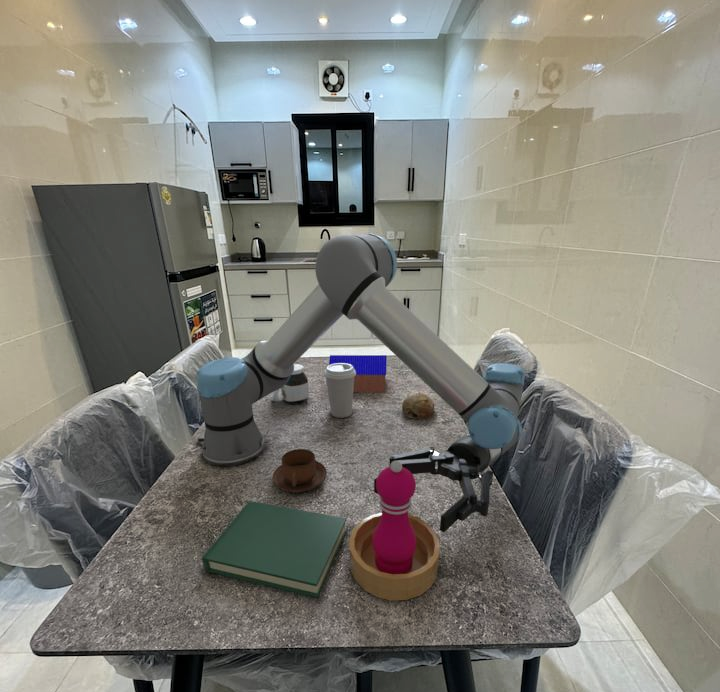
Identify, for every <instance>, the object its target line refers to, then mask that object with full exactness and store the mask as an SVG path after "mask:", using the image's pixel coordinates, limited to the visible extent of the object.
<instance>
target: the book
mask: <svg viewBox="0 0 720 692" xmlns="http://www.w3.org/2000/svg"><path fill="white" fill-rule="evenodd" d="M346 522H347V517H341V516H335V515H331V514H330V515H329V514H325V513H318V512H313V511H308V510H303V509H297V508H296V509H295V508H291V507H285V506H280V505H275V504H270V503H264V502H258V501H253V500H249V501H248V502H247V503H246V504H245V505H244V507H243V508H242V509H241V510H240V511H239V513H238V514H237V515H236V516H235V517H234V519H233V520H232V521H231V522H230V523H229V525H228V526H227V527H226V528H225V530H223V532H222V533H221V534H220V535H219V536H218V538H217V539H216V540H215V541H214V542H213V544H212V545H211V546H210V547H209V548H208V550H207V551H206V552H205V553H203V554H204V555H202V556H201V560H202V564H203V568H204V571H205V572H208V573H212V574H216V575H221V576H224V577H229V578H232V579H236V580H241V581H244V582H249V583H254V584H257V585H261V586H266V587H270V588H274V589H278V590H282V591H287V592H290V593H295V594H298V595H304V596H308V597H311V598H316V599H318V598H319V596H320V594H321V592H322V590H323V587H324V585H325V583H326V580H327V578H328V576H329V573H330V571H331V568H332V566H333V564H334V561H335V559H336V557H337V555H338V552H339V550H340V548H341V546H342V544H343V541H344V539H345V536H346V534H347V532H348V529H347V528H346Z"/></svg>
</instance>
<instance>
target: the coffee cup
mask: <svg viewBox="0 0 720 692" xmlns="http://www.w3.org/2000/svg"><path fill="white" fill-rule="evenodd" d="M355 375H356V371H355V369H354V368H353V366H352V365H351V364H347V363H335V364H331V365H329V364H328V365H327V366H326V368H325V370H324V373H323V376H324V377H325V381H326V387H327V394H328V400H329V401H328V403H329V408H330V414H331V416H333V417H335V418H339V419H340V418H348V417H349V416H351V415H352V414H353V405H354V404H353V403H354V392H353V390H354V376H355Z"/></svg>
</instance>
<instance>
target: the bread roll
mask: <svg viewBox="0 0 720 692" xmlns="http://www.w3.org/2000/svg"><path fill="white" fill-rule="evenodd" d="M401 408H402V412H403V414H404V416H406V417H407V418H409V419H415V420H428V419H431V418H432V417H433V416H434V413H435V402H434V400H433V399H432V398H431V397H430V396H428V395H427V394H425V393H422V392H418V393H415V394H412V395H407V397H405V398H404V400H403V402H402V403H401Z"/></svg>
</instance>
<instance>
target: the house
mask: <svg viewBox="0 0 720 692" xmlns="http://www.w3.org/2000/svg"><path fill="white" fill-rule="evenodd" d="M387 356H388V355H386V354H385V355H384V354H383V355H375V354H374V355H369V354H367V355H366V354H365V355H363V354H362V355H360V354H359V355H358V354H355V355H353V354H349V355H348V354H330V355H329V362H328V365H331V364H335V363H347V364H351V365H352V366H353V368H354V369H355V371H356V375H355V376H354V390H353V393H386V376H387V358H388V357H387Z"/></svg>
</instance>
